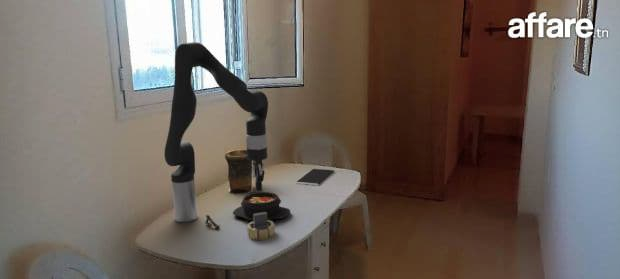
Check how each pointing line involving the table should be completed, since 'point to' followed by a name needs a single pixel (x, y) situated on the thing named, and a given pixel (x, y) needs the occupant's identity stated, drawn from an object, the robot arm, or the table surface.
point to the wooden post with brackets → (211, 222)
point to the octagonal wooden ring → (261, 231)
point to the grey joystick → (260, 220)
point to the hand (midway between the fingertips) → (258, 190)
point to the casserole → (261, 206)
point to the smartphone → (315, 177)
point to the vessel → (239, 172)
